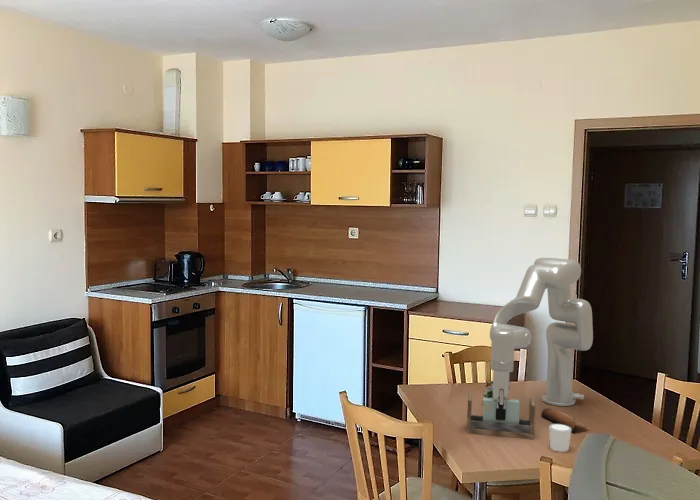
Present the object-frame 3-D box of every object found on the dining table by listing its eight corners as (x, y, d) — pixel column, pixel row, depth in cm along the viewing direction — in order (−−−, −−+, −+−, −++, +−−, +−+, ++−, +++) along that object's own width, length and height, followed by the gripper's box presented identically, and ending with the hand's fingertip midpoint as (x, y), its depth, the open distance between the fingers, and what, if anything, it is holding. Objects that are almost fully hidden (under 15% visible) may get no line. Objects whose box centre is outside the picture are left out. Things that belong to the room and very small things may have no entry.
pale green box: (518, 425, 216) (519, 399, 216) (519, 429, 213) (519, 403, 212) (482, 422, 219) (483, 397, 218) (482, 426, 215) (483, 400, 215)
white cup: (544, 444, 206) (545, 423, 205) (565, 444, 206) (566, 423, 206) (553, 452, 199) (554, 431, 198) (574, 452, 199) (575, 430, 199)
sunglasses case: (593, 430, 218) (586, 415, 217) (579, 443, 216) (571, 427, 215) (559, 414, 235) (552, 400, 233) (545, 425, 233) (538, 411, 232)
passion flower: (488, 416, 248) (493, 387, 254) (514, 417, 241) (518, 387, 247) (475, 405, 241) (480, 376, 247) (501, 406, 234) (505, 376, 240)
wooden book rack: (532, 430, 218) (533, 398, 217) (533, 439, 210) (535, 405, 209) (467, 425, 222) (468, 393, 221) (466, 433, 215) (467, 400, 214)
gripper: (490, 358, 223) (489, 409, 225) (490, 371, 207) (489, 425, 209) (512, 360, 222) (510, 410, 223) (514, 372, 206) (512, 427, 207)
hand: (500, 417), depth 216 cm, fingers open, 3 cm apart
